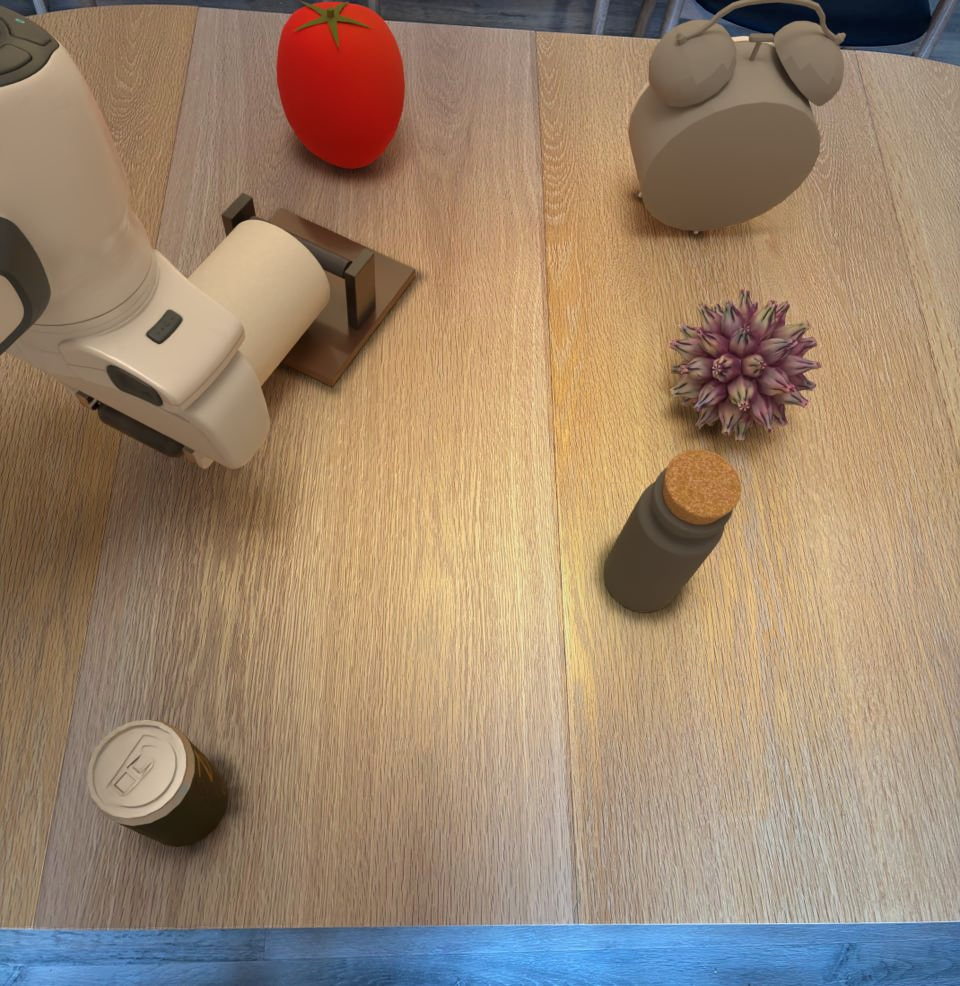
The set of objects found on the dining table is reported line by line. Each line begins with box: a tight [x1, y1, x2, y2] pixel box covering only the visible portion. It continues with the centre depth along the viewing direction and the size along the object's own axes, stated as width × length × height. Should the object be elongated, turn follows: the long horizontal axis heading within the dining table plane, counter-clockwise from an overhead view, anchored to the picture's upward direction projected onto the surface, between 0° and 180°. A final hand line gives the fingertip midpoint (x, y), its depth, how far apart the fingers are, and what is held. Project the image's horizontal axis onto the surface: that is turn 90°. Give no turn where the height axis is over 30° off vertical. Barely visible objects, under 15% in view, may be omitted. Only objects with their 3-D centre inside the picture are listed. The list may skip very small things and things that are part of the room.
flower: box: [668, 288, 822, 442], centre depth 68 cm, size 12×12×12 cm
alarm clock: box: [626, 0, 847, 235], centre depth 74 cm, size 16×9×22 cm, turn 97°
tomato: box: [275, 0, 406, 170], centre depth 78 cm, size 13×11×14 cm
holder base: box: [220, 192, 416, 388], centre depth 72 cm, size 14×14×8 cm
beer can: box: [86, 719, 229, 848], centre depth 49 cm, size 5×5×12 cm
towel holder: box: [96, 215, 352, 459], centre depth 65 cm, size 22×9×9 cm, turn 153°
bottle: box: [603, 448, 742, 613], centre depth 58 cm, size 6×6×15 cm
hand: (148, 428), depth 60 cm, fingers open, 8 cm apart
